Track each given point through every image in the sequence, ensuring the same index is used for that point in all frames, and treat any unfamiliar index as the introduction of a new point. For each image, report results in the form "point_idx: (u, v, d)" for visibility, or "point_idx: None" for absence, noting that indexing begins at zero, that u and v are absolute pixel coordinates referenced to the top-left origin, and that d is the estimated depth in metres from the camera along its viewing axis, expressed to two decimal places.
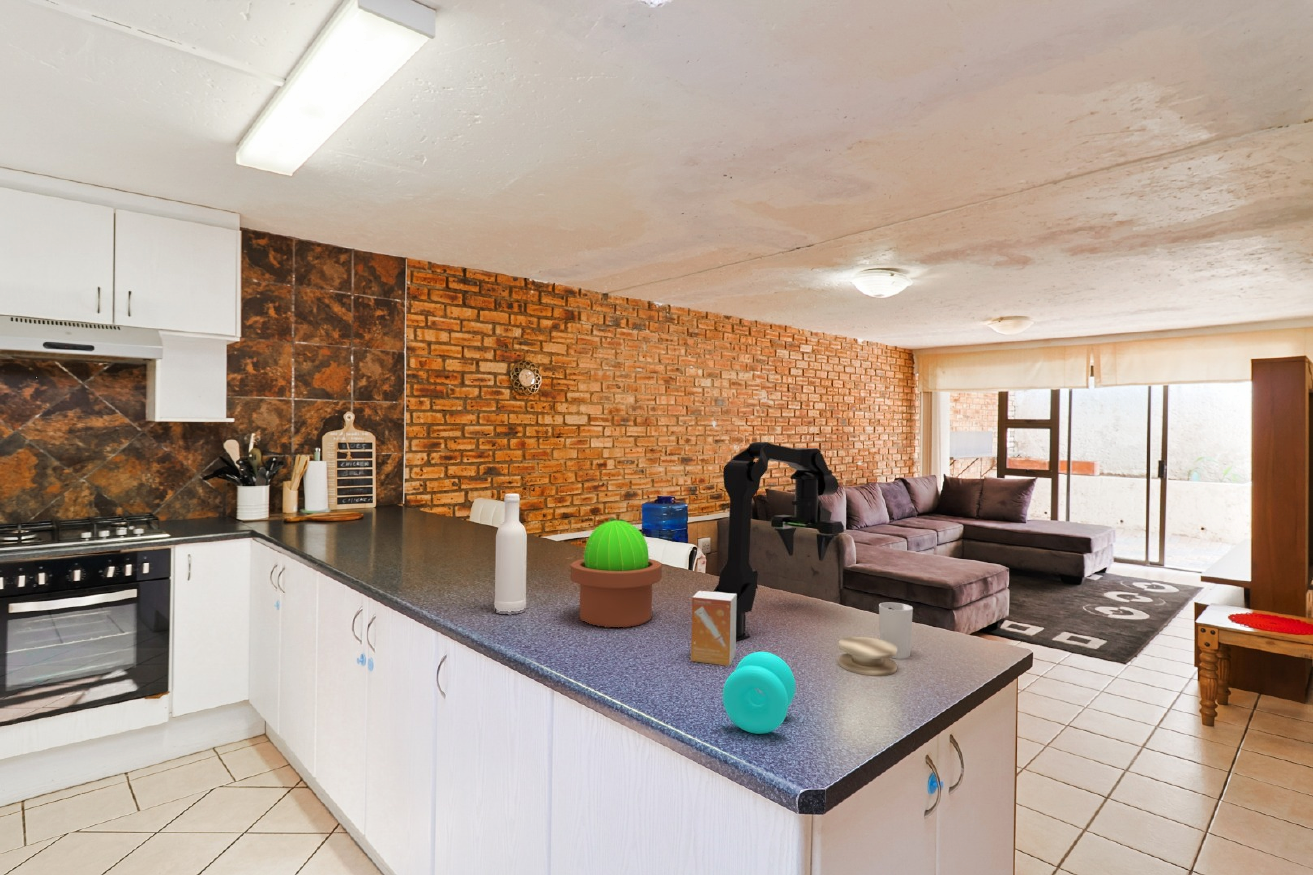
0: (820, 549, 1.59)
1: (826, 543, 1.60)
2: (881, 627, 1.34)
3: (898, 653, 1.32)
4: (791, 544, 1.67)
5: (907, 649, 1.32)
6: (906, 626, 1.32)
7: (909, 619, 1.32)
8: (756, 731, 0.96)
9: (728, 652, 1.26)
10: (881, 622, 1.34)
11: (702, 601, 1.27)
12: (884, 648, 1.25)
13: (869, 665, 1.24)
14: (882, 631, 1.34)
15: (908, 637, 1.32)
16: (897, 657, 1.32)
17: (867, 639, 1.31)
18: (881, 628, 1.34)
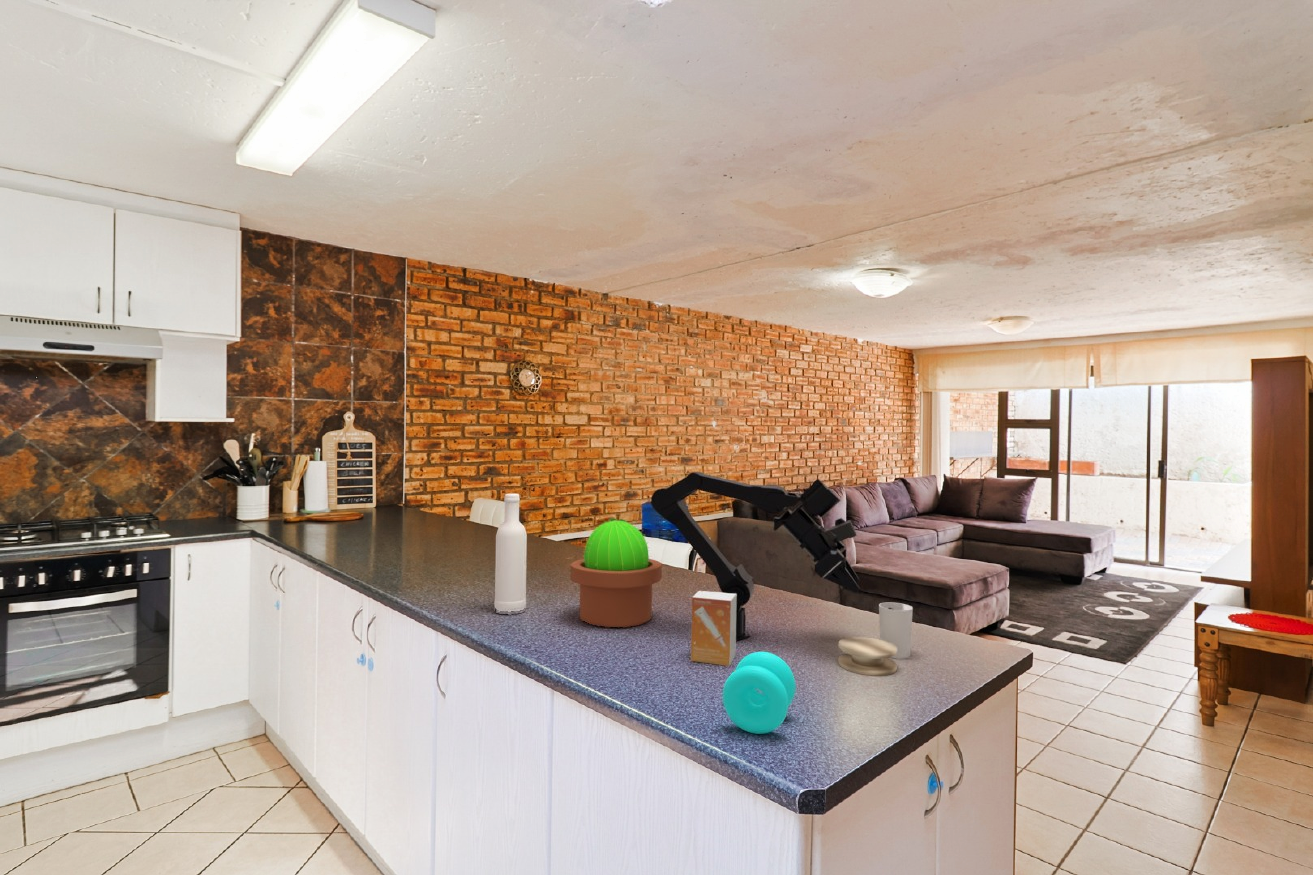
0: (842, 585, 1.33)
1: (844, 574, 1.32)
2: (881, 627, 1.34)
3: (898, 653, 1.32)
4: (849, 572, 1.42)
5: (907, 649, 1.32)
6: (906, 626, 1.32)
7: (909, 619, 1.32)
8: (756, 731, 0.96)
9: (728, 652, 1.26)
10: (881, 622, 1.34)
11: (702, 601, 1.27)
12: (884, 648, 1.25)
13: (869, 665, 1.24)
14: (882, 631, 1.34)
15: (908, 637, 1.32)
16: (897, 657, 1.32)
17: (867, 639, 1.31)
18: (881, 628, 1.34)
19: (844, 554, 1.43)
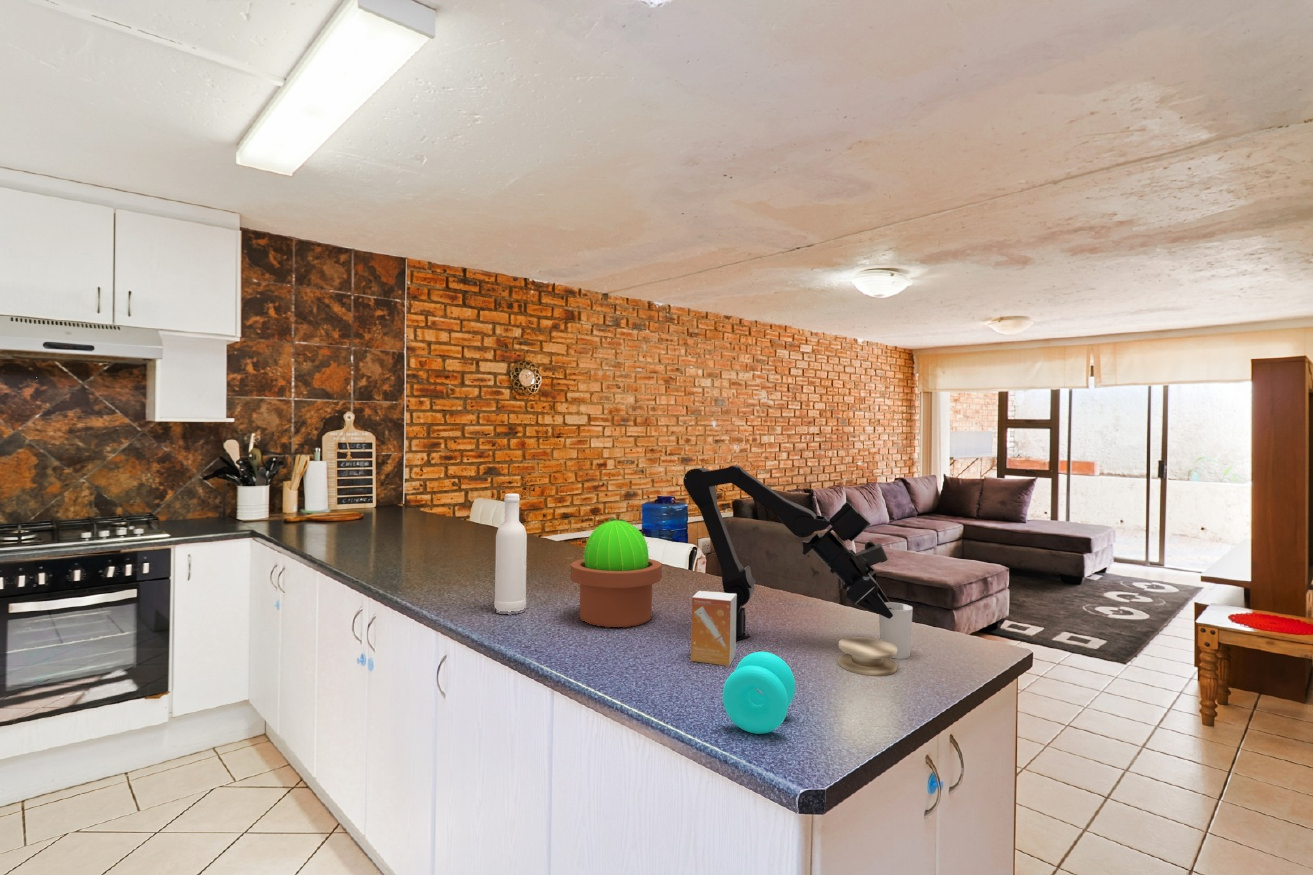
0: (875, 611, 1.30)
1: (877, 600, 1.30)
2: (881, 627, 1.34)
3: (898, 653, 1.32)
4: (880, 595, 1.40)
5: (907, 649, 1.32)
6: (906, 626, 1.32)
7: (909, 619, 1.32)
8: (756, 731, 0.96)
9: (728, 652, 1.26)
10: (881, 622, 1.34)
11: (702, 601, 1.27)
12: (884, 648, 1.25)
13: (869, 665, 1.24)
14: (882, 631, 1.34)
15: (908, 637, 1.32)
16: (897, 657, 1.32)
17: (867, 639, 1.31)
18: (881, 628, 1.34)
19: (874, 578, 1.41)
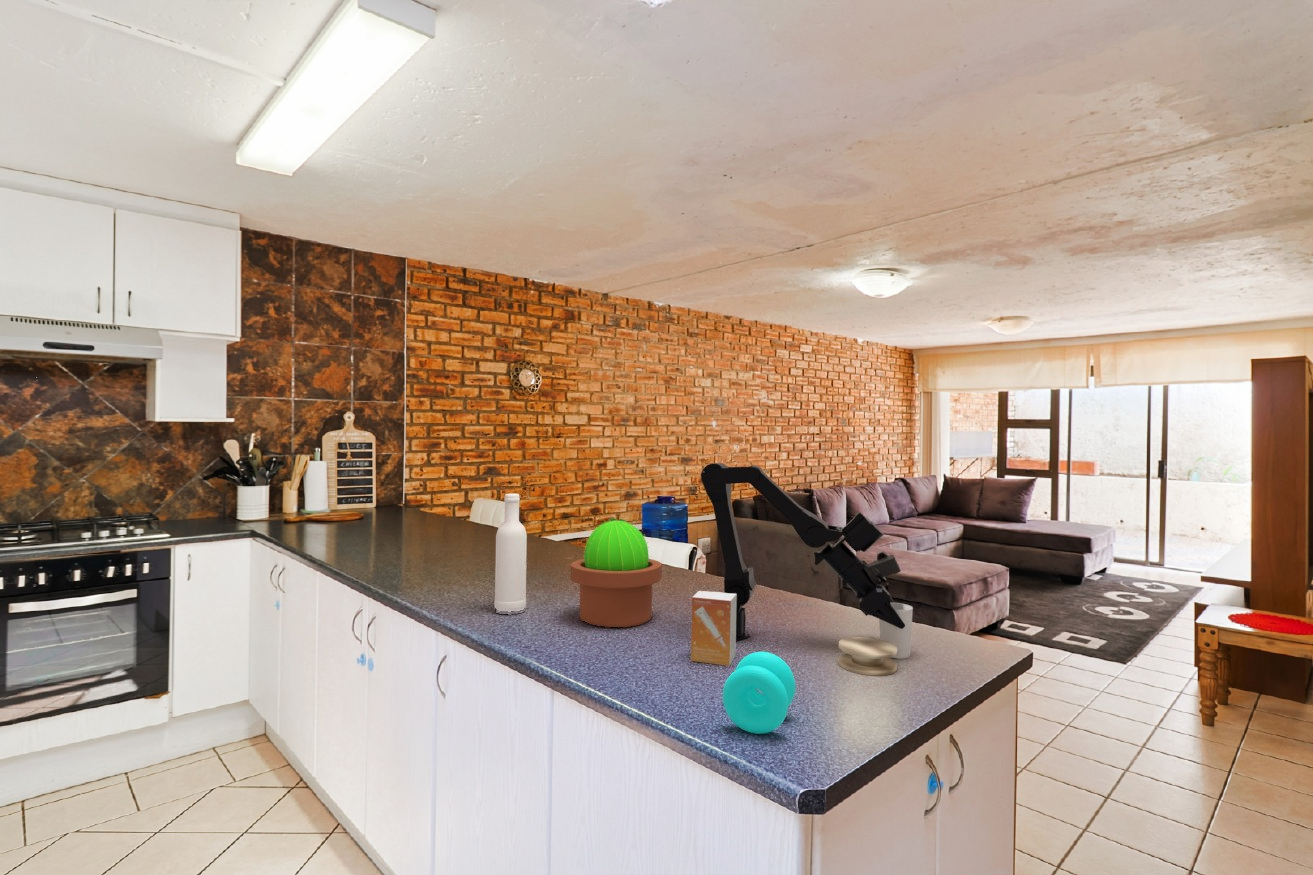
0: (887, 621, 1.31)
1: (889, 610, 1.31)
2: (881, 627, 1.34)
3: (898, 653, 1.32)
4: None
5: (907, 649, 1.32)
6: (906, 626, 1.32)
7: (909, 619, 1.32)
8: (756, 731, 0.96)
9: (728, 652, 1.26)
10: (881, 622, 1.34)
11: (702, 601, 1.27)
12: (884, 648, 1.25)
13: (869, 665, 1.24)
14: (882, 631, 1.34)
15: (908, 637, 1.32)
16: (897, 657, 1.32)
17: (867, 639, 1.31)
18: (881, 628, 1.34)
19: (886, 590, 1.39)
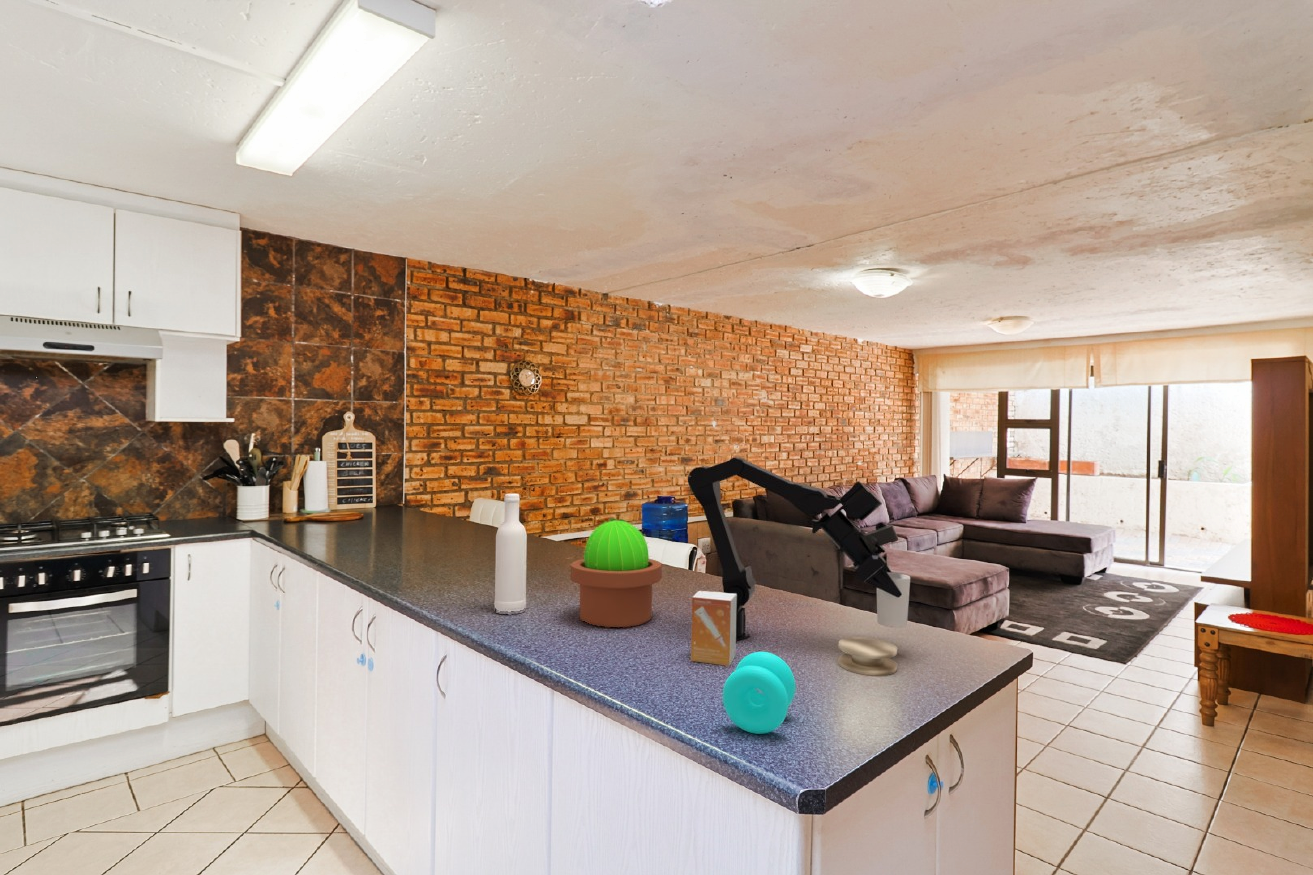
0: (883, 589, 1.30)
1: (886, 579, 1.30)
2: (878, 596, 1.33)
3: (894, 622, 1.31)
4: None
5: (904, 618, 1.31)
6: (903, 595, 1.31)
7: (906, 588, 1.31)
8: (756, 731, 0.96)
9: (728, 652, 1.26)
10: (878, 591, 1.33)
11: (702, 601, 1.27)
12: (884, 648, 1.25)
13: (869, 665, 1.24)
14: (879, 600, 1.33)
15: (905, 606, 1.31)
16: (893, 626, 1.31)
17: (867, 639, 1.31)
18: (878, 597, 1.33)
19: (885, 560, 1.38)
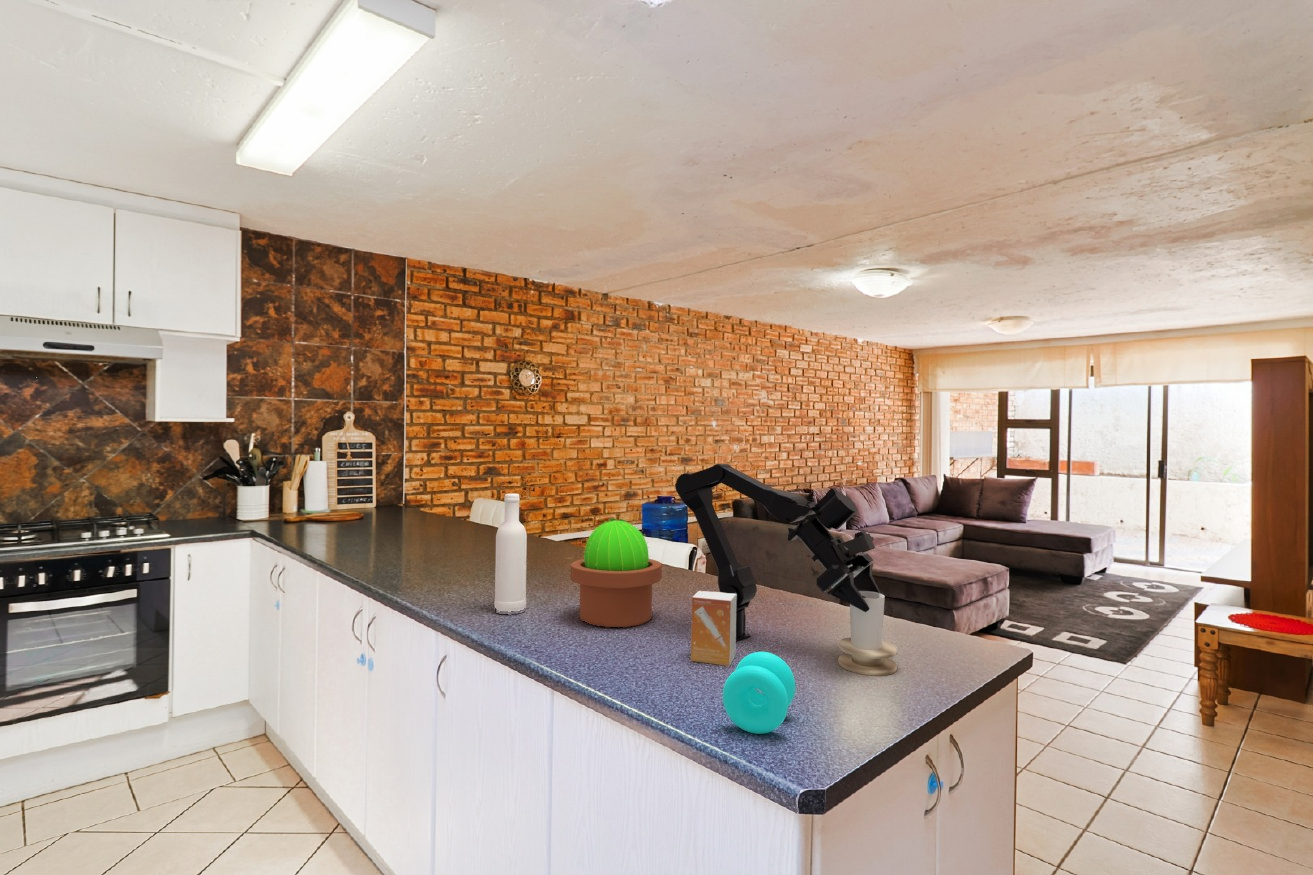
0: (850, 603, 1.24)
1: (851, 591, 1.23)
2: (850, 615, 1.28)
3: (864, 643, 1.25)
4: (872, 589, 1.31)
5: (875, 640, 1.24)
6: (872, 616, 1.24)
7: (877, 608, 1.24)
8: (756, 731, 0.96)
9: (728, 652, 1.26)
10: (850, 610, 1.28)
11: (702, 601, 1.27)
12: (884, 648, 1.25)
13: (869, 665, 1.24)
14: (850, 619, 1.27)
15: (876, 628, 1.24)
16: (863, 648, 1.25)
17: None
18: (850, 616, 1.28)
19: (868, 570, 1.32)
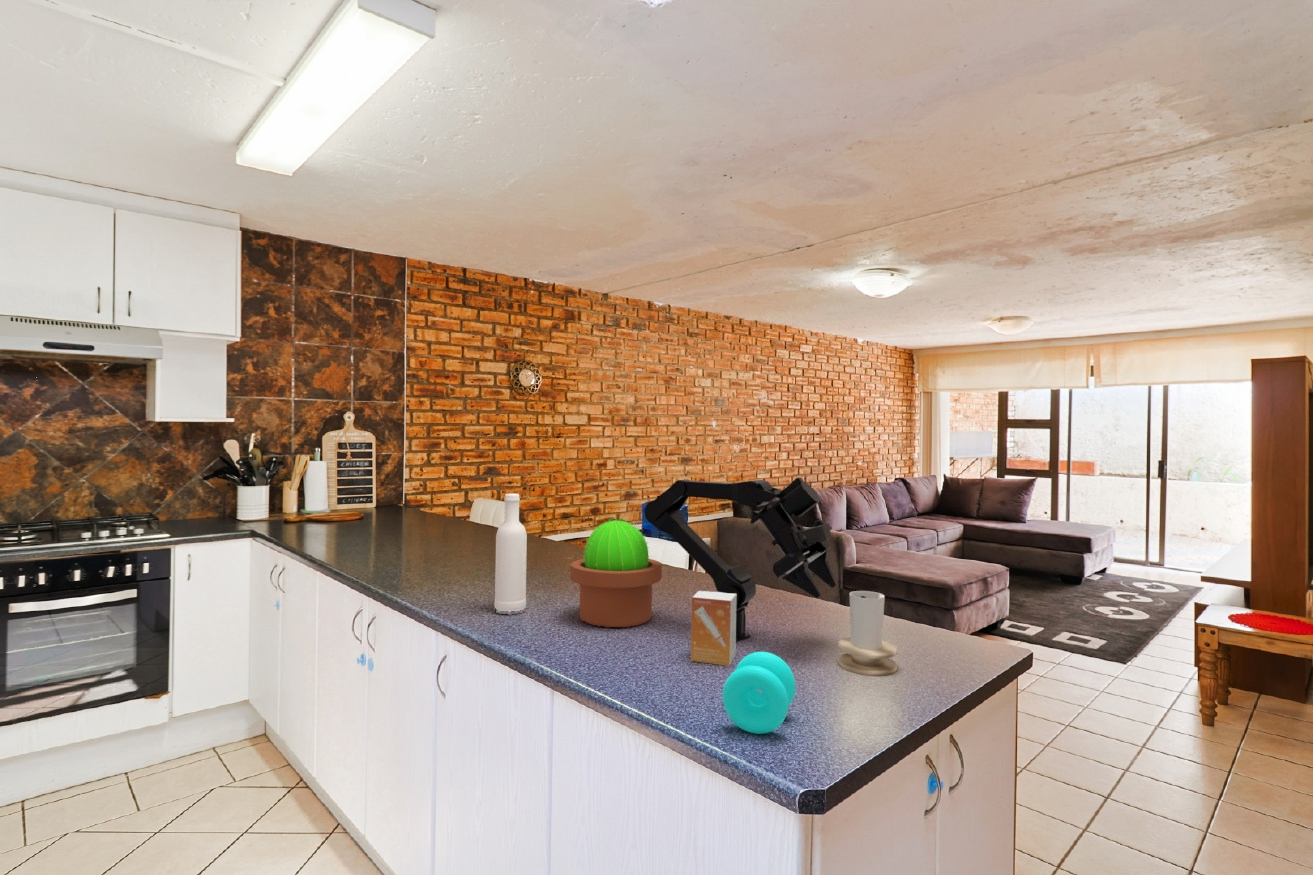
0: None
1: (804, 578, 1.30)
2: (850, 615, 1.28)
3: (864, 643, 1.25)
4: (826, 574, 1.38)
5: (875, 640, 1.24)
6: (872, 616, 1.24)
7: (877, 608, 1.24)
8: (756, 731, 0.96)
9: (728, 652, 1.26)
10: (850, 610, 1.28)
11: (702, 601, 1.27)
12: (884, 648, 1.25)
13: (869, 665, 1.24)
14: (850, 619, 1.27)
15: (876, 628, 1.24)
16: (863, 648, 1.25)
17: None
18: (850, 616, 1.28)
19: (824, 556, 1.39)
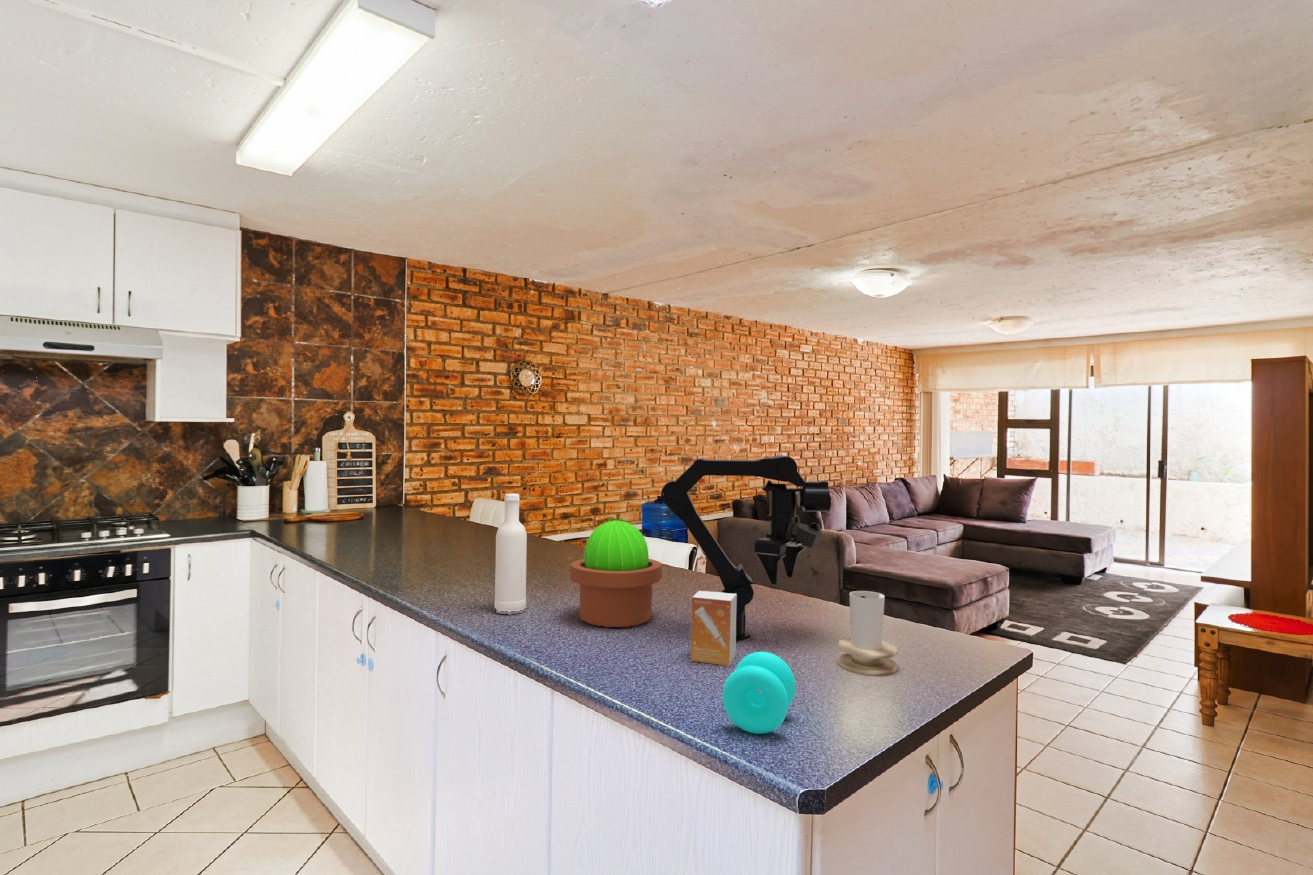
0: None
1: (773, 565, 1.39)
2: (850, 615, 1.28)
3: (864, 643, 1.25)
4: (790, 564, 1.48)
5: (875, 640, 1.24)
6: (872, 616, 1.24)
7: (877, 608, 1.24)
8: (756, 731, 0.96)
9: (728, 652, 1.26)
10: (850, 610, 1.28)
11: (702, 601, 1.27)
12: (884, 648, 1.25)
13: (869, 665, 1.24)
14: (850, 619, 1.27)
15: (876, 628, 1.24)
16: (863, 648, 1.25)
17: None
18: (850, 616, 1.28)
19: (799, 550, 1.48)
